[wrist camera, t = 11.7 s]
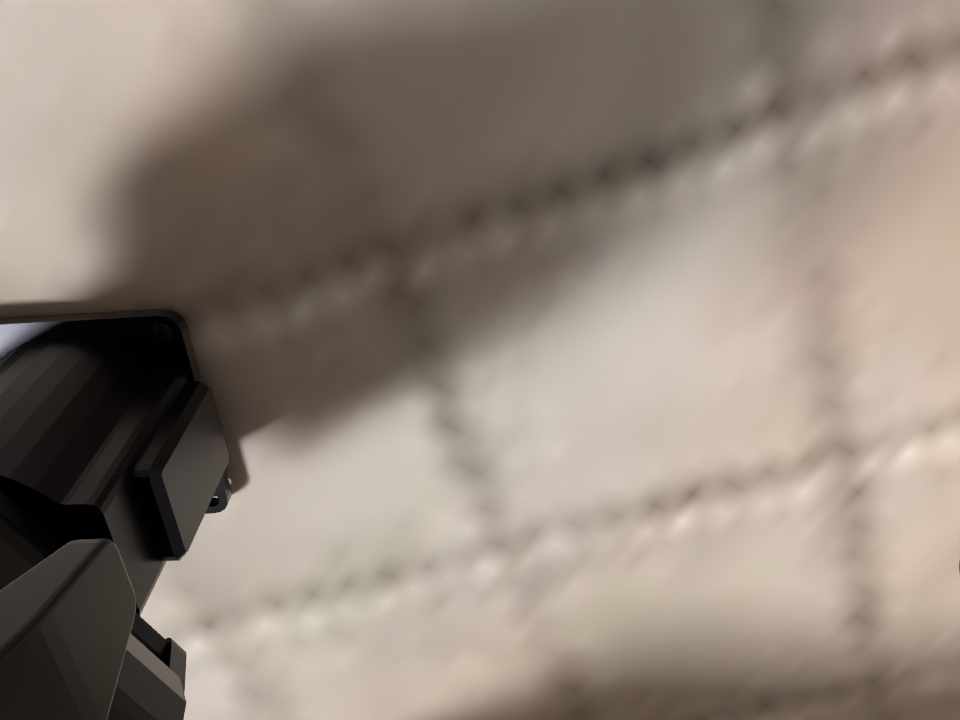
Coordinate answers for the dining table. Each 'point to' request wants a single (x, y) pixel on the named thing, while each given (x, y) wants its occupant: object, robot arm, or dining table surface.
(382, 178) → the dining table surface
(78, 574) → the robot arm
